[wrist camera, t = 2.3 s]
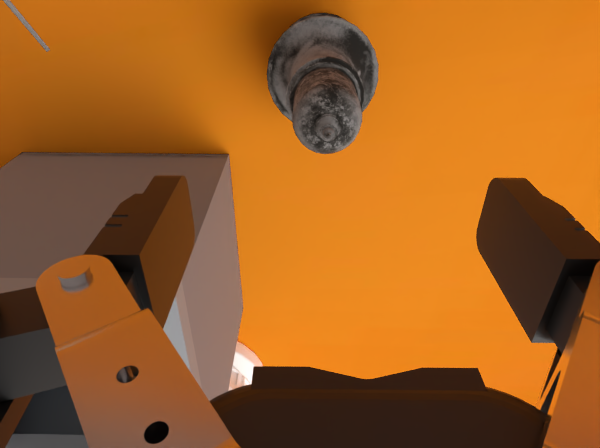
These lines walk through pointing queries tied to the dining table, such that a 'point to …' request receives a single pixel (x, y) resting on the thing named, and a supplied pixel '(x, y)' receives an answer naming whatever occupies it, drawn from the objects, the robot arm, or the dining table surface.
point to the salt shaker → (323, 80)
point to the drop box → (80, 234)
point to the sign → (26, 24)
